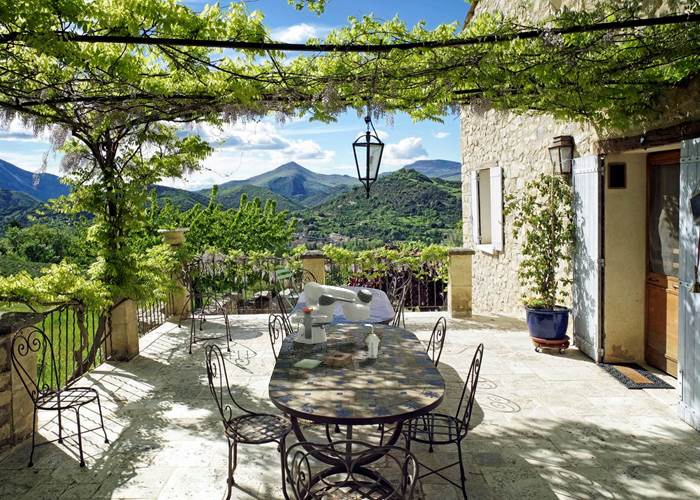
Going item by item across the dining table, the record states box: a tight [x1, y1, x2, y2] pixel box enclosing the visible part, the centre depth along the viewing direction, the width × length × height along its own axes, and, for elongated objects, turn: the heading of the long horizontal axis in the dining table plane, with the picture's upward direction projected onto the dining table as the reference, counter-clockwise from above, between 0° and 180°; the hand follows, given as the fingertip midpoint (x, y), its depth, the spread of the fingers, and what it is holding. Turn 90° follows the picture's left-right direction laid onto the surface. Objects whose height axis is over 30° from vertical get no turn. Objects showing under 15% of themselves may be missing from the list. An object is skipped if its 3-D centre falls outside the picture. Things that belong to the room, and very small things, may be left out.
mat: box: [293, 358, 323, 370], centre depth 302 cm, size 12×12×1 cm
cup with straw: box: [363, 323, 380, 359], centre depth 312 cm, size 8×9×20 cm
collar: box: [323, 351, 353, 367], centre depth 304 cm, size 12×12×4 cm
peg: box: [301, 306, 313, 339], centre depth 300 cm, size 6×6×17 cm
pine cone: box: [349, 330, 385, 347], centre depth 336 cm, size 22×10×10 cm, turn 89°
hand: (307, 322), depth 299 cm, fingers closed on peg, 4 cm apart
